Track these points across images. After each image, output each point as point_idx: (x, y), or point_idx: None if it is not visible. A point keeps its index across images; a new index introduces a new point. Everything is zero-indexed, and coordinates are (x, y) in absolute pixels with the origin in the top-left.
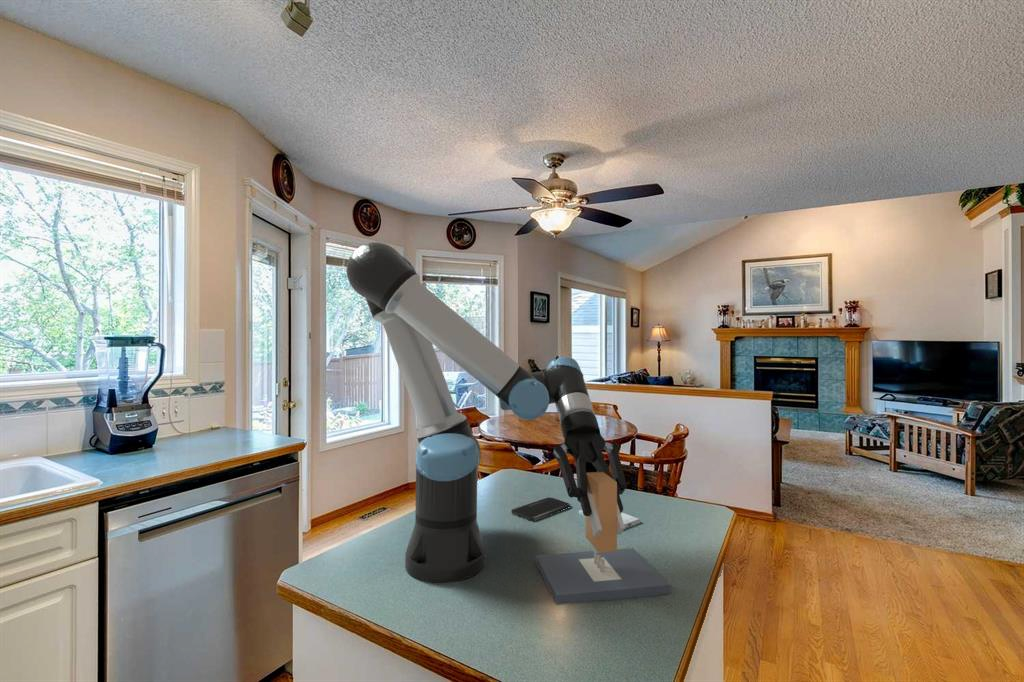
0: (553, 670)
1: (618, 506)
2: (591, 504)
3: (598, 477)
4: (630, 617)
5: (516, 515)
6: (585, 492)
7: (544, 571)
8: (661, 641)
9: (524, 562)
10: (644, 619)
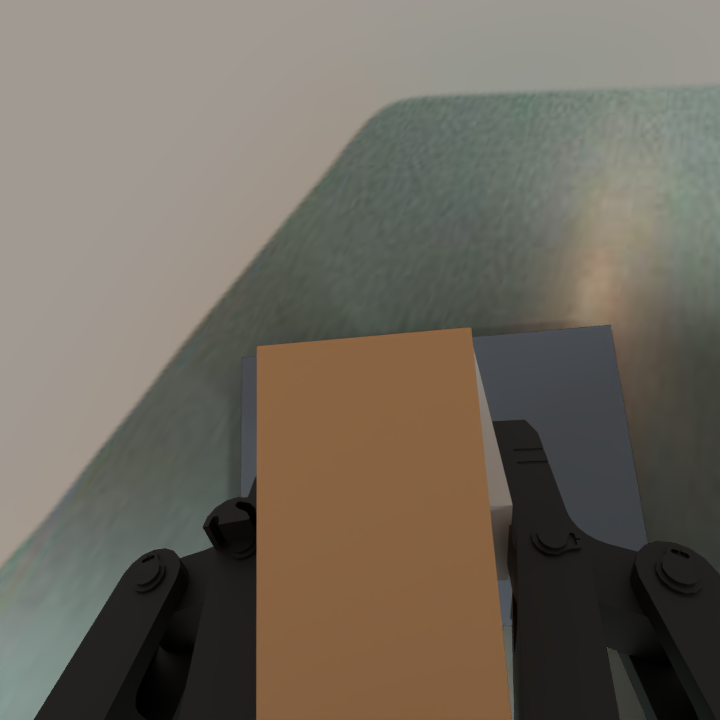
0: (643, 95)
1: None
2: (492, 436)
3: (403, 550)
4: (402, 267)
5: None
6: (540, 525)
7: (636, 483)
8: (367, 183)
9: None
10: (371, 258)
